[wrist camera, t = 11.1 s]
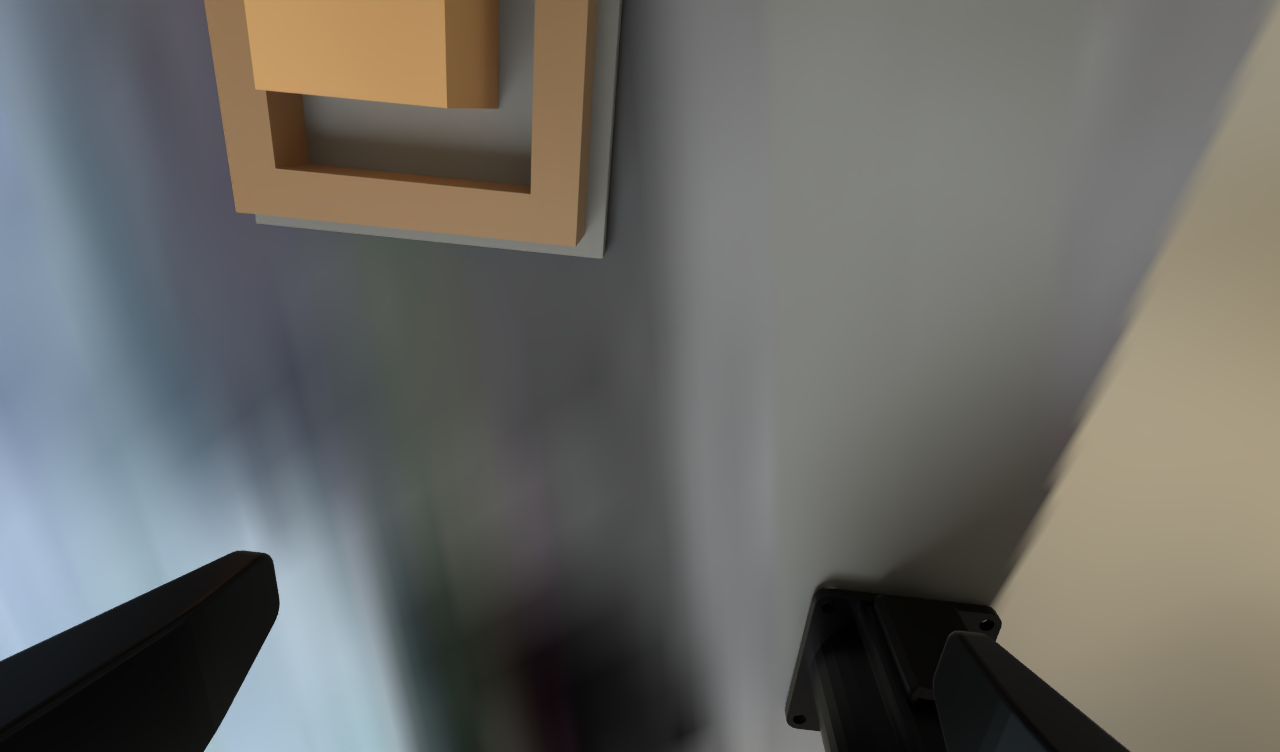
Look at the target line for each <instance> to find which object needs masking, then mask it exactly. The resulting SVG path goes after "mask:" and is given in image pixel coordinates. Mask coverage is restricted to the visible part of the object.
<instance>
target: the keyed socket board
mask: <svg viewBox="0 0 1280 752" xmlns="http://www.w3.org/2000/svg"><path fill="white" fill-rule="evenodd" d="M204 2H205V9H206V16H207V22H208V29H209V36H210V42H211V49H212V55H213V62H214V69H215V75H216V82H217V89H218V95H219V102H220V108H221V115H222V122H223V128H224V135H225V141H226V148H227V155H228V161H229V168H230V175H231V181H232V188H233V194H234V201H235V208H236V212H240V213H250V214H255V218H256V223H258V224H268V225H278V226H288V227H297V228H307V229H317V230H327V231H336V232H346V233H356V234H366V235H375V236H385V237H395V238H405V239H415V240H424V241H434V242H444V243H454V244H463V245H473V246H483V247H493V248H502V249H512V250H522V251H532V252H542V253H551V254H561V255H571V256H581V257H590V258H600V259H603V257H604V255H605V243H606V228H607V214H608V199H609V185H610V170H611V156H612V141H613V127H614V112H615V98H616V83H617V69H618V54H619V40H620V25H621V11H622V0H499V65H498V109H474V108H440V107H429V106H419V105H409V104H399V103H389V102H379V101H369V100H359V99H348V98H338V97H328V96H318V95H308V94H298V93H288V92H278V91H267V90H257V89H255V82H254V75H253V67H252V59H251V52H250V44H249V36H248V28H247V21H246V13H245V5H244V0H204Z"/></svg>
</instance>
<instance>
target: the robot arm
mask: <svg viewBox="0 0 1280 752" xmlns="http://www.w3.org/2000/svg"><path fill="white" fill-rule="evenodd" d="M826 602H832V603H831V604H830V605H823V604H824V603H826ZM279 604H280V602H279V594H278V588H277V582H276V576H275V570H274V564H273V560H272V558H271V557H270V556H269V555H268V554H266V553H260V552H251V551H235V552H232V553H230V554H228V555H226V556H224V557H221V558H219V559H217V560H215V561H213V562H211V563H209V564H206V565H204V566H202V567H200V568H198V569H196V570H194V571H192V572H189V573H187V574H185V575H183V576H181V577H179V578H177V579H175V580H172V581H170V582H168V583H166V584H164V585H162V586H160V587H158V588H155V589H153V590H151V591H149V592H147V593H145V594H143V595H140V596H138V597H136V598H134V599H132V600H130V601H128V602H126V603H123V604H121V605H119V606H117V607H115V608H113V609H111V610H108V611H106V612H104V613H102V614H100V615H98V616H96V617H94V618H91V619H89V620H87V621H85V622H83V623H81V624H79V625H77V626H74V627H72V628H70V629H68V630H66V631H64V632H62V633H59V634H57V635H55V636H53V637H51V638H49V639H47V640H45V641H42V642H40V643H38V644H36V645H34V646H32V647H30V648H27V649H25V650H23V651H21V652H19V653H17V654H15V655H13V656H10V657H8V658H6V659H4V660H2V661H0V752H204V750H205V749H206V747H207V745H208V744H209V742H210V741H211V739H212V737H213V736H214V734H215V733H216V731H217V729H218V727H219V726H220V724H221V722H222V720H223V719H224V717H225V715H226V713H227V711H228V710H229V708H230V706H231V704H232V702H233V700H234V698H235V696H236V694H237V693H238V691H239V689H240V687H241V685H242V683H243V681H244V679H245V677H246V675H247V674H248V672H249V670H250V668H251V666H252V664H253V662H254V660H255V658H256V657H257V655H258V653H259V651H260V649H261V647H262V645H263V643H264V641H265V639H266V638H267V636H268V634H269V632H270V630H271V628H272V626H273V624H274V622H275V620H276V618H277V615H278V611H279ZM984 620H987V621H985V622H982V621H984ZM1001 624H1002V622H1001V620H1000V618H999V616H998V615H997V613H996V611H995V610H994V609H992V608H991V607H988V606H982V605H973V604H964V603H955V602H946V601H937V600H928V599H919V598H910V597H901V596H892V595H883V594H874V593H865V592H856V591H848V590H839V589H830V588H828V589H821V590H819V591H817V592H816V593H815V594H814V596H813V598H812V601H811V606H810V610H809V614H808V618H807V622H806V626H805V630H804V634H803V638H802V642H801V646H800V650H799V654H798V658H797V662H796V666H795V670H794V675H793V679H792V683H791V687H790V691H789V695H788V699H787V703H786V707H785V715H786V720H787V723H788V724H789V725H790V726H791V727H793V728H797V729H805V730H814V731H821V735H822V739H823V744H824V748H825V752H1130V751H1129V750H1128V749H1126V747H1124V746H1123V745H1122V744H1121V743H1119V742H1118V741H1117V740H1116V739H1114V738H1113V737H1112V736H1111V735H1110V734H1108V733H1107V732H1106V731H1105V730H1103V729H1102V728H1101V727H1100V726H1099V725H1097V724H1096V723H1095V722H1094V721H1092V720H1091V719H1090V718H1089V717H1087V716H1086V715H1085V714H1084V713H1083V712H1081V711H1080V710H1079V709H1078V708H1076V707H1075V706H1074V705H1073V704H1071V703H1070V702H1069V701H1068V700H1067V699H1065V698H1064V697H1063V696H1062V695H1060V694H1059V693H1058V692H1057V691H1055V690H1054V689H1053V688H1052V687H1050V686H1049V685H1048V684H1047V683H1046V682H1045V681H1043V680H1042V679H1041V678H1039V677H1038V676H1037V675H1036V674H1035V673H1033V672H1032V671H1031V670H1030V669H1029V668H1027V667H1026V666H1025V665H1024V664H1022V663H1021V662H1020V661H1019V660H1018V659H1016V658H1015V657H1014V656H1013V655H1011V654H1010V653H1009V652H1008V651H1006V650H1005V649H1004V648H1003V647H1002V646H1000V645H999V644H998V643H996V642H995V641H996V639H997V636H998V634H999V631H1000V629H1001Z"/></svg>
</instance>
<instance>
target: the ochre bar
mask: <svg viewBox="0 0 1280 752" xmlns="http://www.w3.org/2000/svg"><path fill="white" fill-rule="evenodd" d="M244 5H245V13H246V21H247V28H248V36H249V44H250V52H251V59H252V67H253V75H254V82H255V89H257V90H267V91H278V92H288V93H298V94H308V95H318V96H328V97H338V98H348V99H359V100H369V101H379V102H389V103H399V104H409V105H419V106H429V107H440V108H474V109H498V65H499V0H244Z"/></svg>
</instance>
